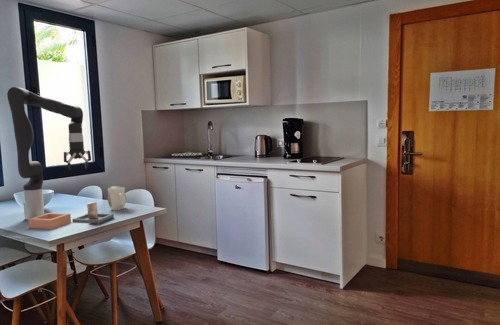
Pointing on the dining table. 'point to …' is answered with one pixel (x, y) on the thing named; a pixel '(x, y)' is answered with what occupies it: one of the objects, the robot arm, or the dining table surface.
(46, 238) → the dining table surface
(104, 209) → the dining table surface
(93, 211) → the cylinder
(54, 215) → the orange open box
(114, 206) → the pitcher
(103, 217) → the tray
